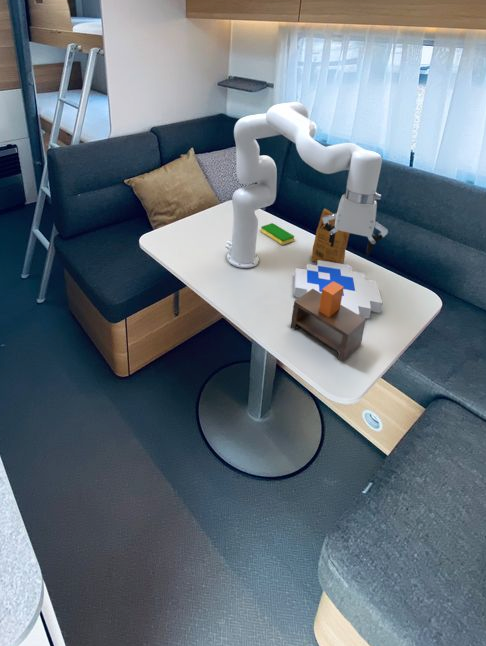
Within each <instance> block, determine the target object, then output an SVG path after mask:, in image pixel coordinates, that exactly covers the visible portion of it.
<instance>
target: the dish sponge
mask: <svg viewBox="0 0 486 646" xmlns="http://www.w3.org/2000/svg"><path fill="white" fill-rule="evenodd" d="M260 232H261V233H263V234H265V235H266V236H268V237H269V238H270V239H272V240H274V241H275V242H277V243H278V244H280V245H282V246H284V245H286V244H289V243H292V242H294V241H295V235H293V234H292V233H290V232H288V231H287V230H286V229H283V228H281V226H278V225H277V224H275V223H273V222H270V223H268V224H265V225H262V226H261V228H260Z"/></svg>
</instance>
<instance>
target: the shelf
mask: <svg viewBox="0 0 486 646" xmlns="http://www.w3.org/2000/svg"><path fill="white" fill-rule="evenodd" d="M320 300H321V293H320V292H318V291H316V290H314V289H311V290H310V291H308V292H307V293H306V294H304V295H303V296H301V297H300V298H298V297H297V299H295V300H293V308H292V314H291V321H290V328H291V329H293V330H294V331H295V330H297V329H298V328H299V327H300V328H302V329H303V330H305V331H307V333H309V334H311V335H312V336H314V337H315V338H316V339H318V340H320V341H321V342H323V344H325V345H327V346H329V347H330V348H332V349H333V350H335V351H336V352H338V355H337V360H338V361H340V362H341V363H344V362H345V361H346V360H347V359H348V358H349V357H350V356H351V355H352V354H354V352H355V351H356V350H358V349H359V348H360V347H361V344H362V339H363V335H364V330H365V326H366V322H367V318H364V317H361V316H360V315H358V314H356V313H354V312H353V311H351V310H349V309H347V308H346V307H344V306H342V305H340V309H339V310H338V311H336V312H335V313H334V314H332V315H331V316H330V317H328V316H326V315H324V314H323V313H321V312H319V306H320Z"/></svg>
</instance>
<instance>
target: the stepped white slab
mask: <svg viewBox="0 0 486 646" xmlns="http://www.w3.org/2000/svg"><path fill="white" fill-rule="evenodd" d="M333 281H334V282H336V283H338V284H340V285H341V286H343V287H344V289H343V294H342V300H341V305H342V306H344V307H346V308H347V309H349V310H351V311H353V312H354V313H356V314H358V315H360V316H361V317H363V318H365V319H370V316H371V312H373V313H378V314H380V313H381V311H382V308H383V307H382V306H383V300H382V296H381V292H380V289H379V286H378V285H379V284H378V281H376V280H369V279H365V275H364V272H359V271H354V270H353V271H352V266H351V264H345V263H343V264H339V263H333V262H327V261H321V260H318V261H317V262H316V265H315V264H311V263H306V268H305V269H304V268H298V267H296V268H295V272H294V283H293V284H294V285H293V287H294V288H293V298H297V299H298V298H300V297H301V296H303V295H304V294H306V293H307V292H308V291H310V290H311V289H314V290H316V291H318V292H320V293H321V294H322V289H323V288H324V287H326V286H327V285H329V284H330V283H331V282H333Z"/></svg>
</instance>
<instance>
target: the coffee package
mask: <svg viewBox="0 0 486 646" xmlns="http://www.w3.org/2000/svg"><path fill="white" fill-rule="evenodd" d="M330 214H334V213H333V212H331V211H330V210H329V209H327V208H323V210H322V213H321V215H320V219H319V222H318V226H317V228H316V232H315V237H314V241H313V245H312V249H311V250H312V252H311V261H312V262H315V263H317V261H318V260H321V261H327V262H333V263H339V264H345V258H346V250H347V247H348V242H349V237H350V233H348V232H344V231H340V230H339V231H337V232H336V235H335V241H334V245H333V247H331V243H330V242H329V238H330V233H329V231H328V230H327V229H326V227H325V225H324V222H323V220H322V218H323V216H325V215H330ZM335 220H336V219H333V220H329V223H330V224H331V225H332V226H333V225H335Z"/></svg>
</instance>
